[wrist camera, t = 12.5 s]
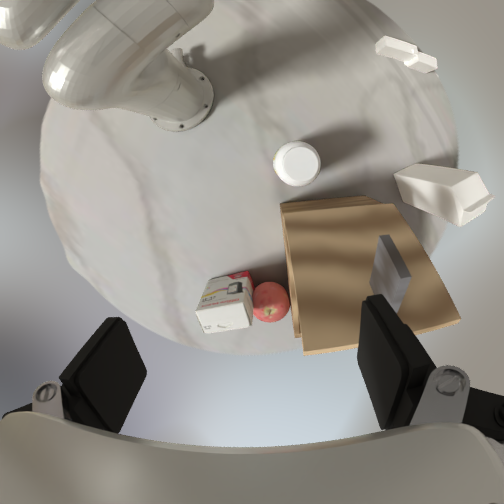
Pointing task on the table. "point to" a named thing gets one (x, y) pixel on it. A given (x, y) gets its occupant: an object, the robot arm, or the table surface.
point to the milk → (444, 192)
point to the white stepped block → (406, 54)
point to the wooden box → (287, 208)
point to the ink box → (226, 303)
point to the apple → (270, 302)
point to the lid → (360, 274)
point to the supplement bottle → (297, 163)
